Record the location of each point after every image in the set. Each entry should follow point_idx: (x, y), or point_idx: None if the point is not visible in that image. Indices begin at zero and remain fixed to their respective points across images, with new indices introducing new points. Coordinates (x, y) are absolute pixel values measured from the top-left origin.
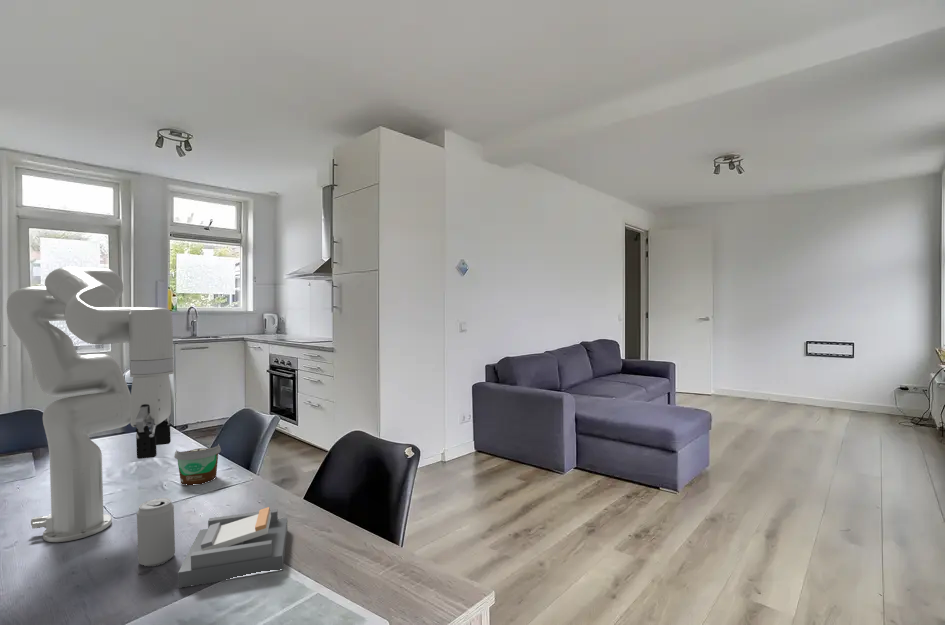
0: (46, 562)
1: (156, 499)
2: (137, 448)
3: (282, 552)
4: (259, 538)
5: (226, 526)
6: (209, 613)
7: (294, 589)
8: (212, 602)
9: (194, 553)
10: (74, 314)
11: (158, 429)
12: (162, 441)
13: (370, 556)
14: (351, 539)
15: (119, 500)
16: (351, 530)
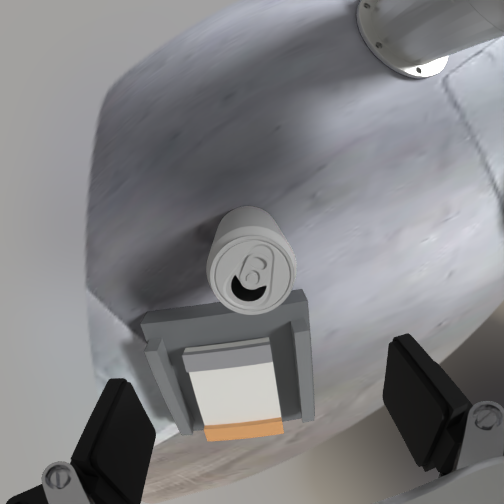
0: (280, 29)
1: (286, 265)
2: (94, 415)
3: (193, 430)
4: None
5: (260, 371)
6: (98, 362)
7: None
8: (117, 360)
9: (152, 354)
10: None
11: (427, 425)
12: (389, 387)
13: (213, 472)
14: (258, 459)
15: (497, 69)
16: (284, 457)
